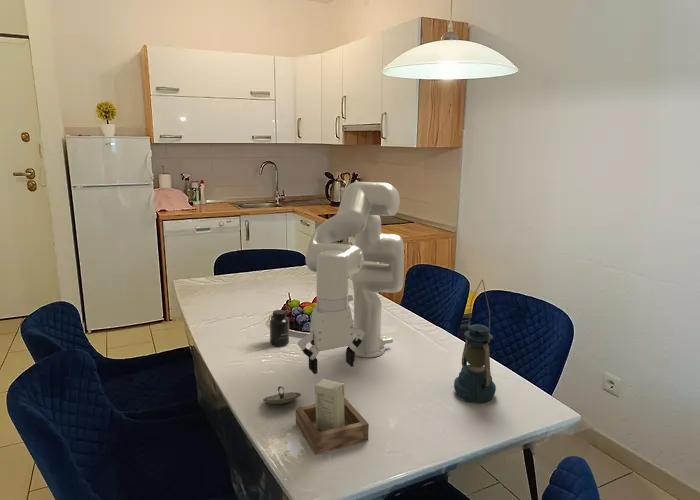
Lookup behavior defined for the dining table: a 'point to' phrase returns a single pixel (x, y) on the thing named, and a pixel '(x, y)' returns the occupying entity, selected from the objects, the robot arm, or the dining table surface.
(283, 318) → the supplement bottle
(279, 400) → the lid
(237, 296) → the dining table surface
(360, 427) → the wooden tray
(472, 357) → the lantern
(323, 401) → the skincare box
